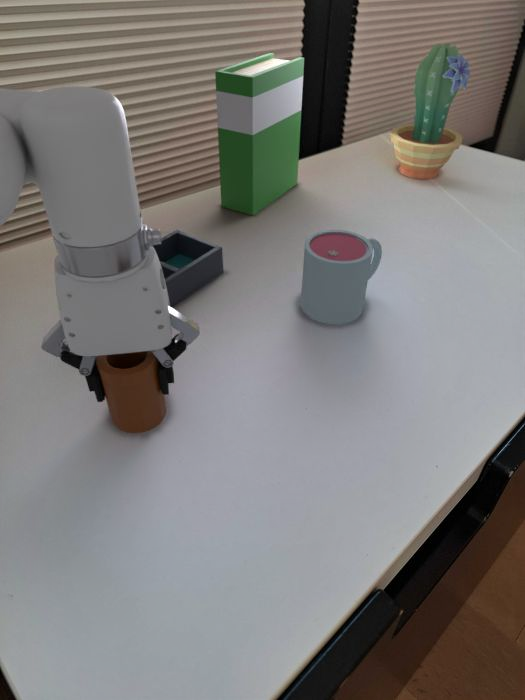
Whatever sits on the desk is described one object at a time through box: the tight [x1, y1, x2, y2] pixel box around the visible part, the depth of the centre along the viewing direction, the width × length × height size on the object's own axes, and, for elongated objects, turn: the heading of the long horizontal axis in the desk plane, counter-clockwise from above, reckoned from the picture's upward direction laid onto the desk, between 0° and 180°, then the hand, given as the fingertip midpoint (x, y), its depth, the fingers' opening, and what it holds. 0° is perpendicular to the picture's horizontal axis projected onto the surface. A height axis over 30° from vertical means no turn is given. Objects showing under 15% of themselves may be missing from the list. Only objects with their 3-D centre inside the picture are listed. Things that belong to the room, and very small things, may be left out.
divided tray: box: [152, 229, 224, 309], centre depth 77 cm, size 10×18×5 cm, turn 144°
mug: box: [300, 229, 383, 325], centre depth 73 cm, size 14×9×10 cm
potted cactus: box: [390, 43, 471, 180], centre depth 107 cm, size 15×15×25 cm
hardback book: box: [214, 52, 305, 216], centre depth 97 cm, size 18×7×24 cm, turn 148°
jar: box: [96, 351, 167, 434], centre depth 56 cm, size 6×6×9 cm
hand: (133, 388), depth 56 cm, fingers closed on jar, 6 cm apart
